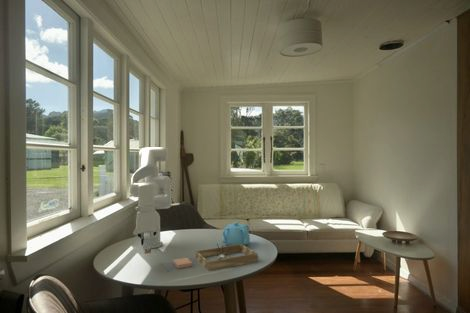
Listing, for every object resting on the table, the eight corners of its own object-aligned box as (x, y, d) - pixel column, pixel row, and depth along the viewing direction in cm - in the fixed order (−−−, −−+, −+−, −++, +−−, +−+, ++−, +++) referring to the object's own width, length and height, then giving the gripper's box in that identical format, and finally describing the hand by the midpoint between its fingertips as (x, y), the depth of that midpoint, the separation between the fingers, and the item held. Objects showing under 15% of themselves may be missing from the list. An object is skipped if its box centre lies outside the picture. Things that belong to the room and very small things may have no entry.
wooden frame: (195, 259, 151) (195, 251, 151) (241, 251, 163) (241, 243, 163) (208, 271, 135) (207, 262, 135) (257, 261, 146) (257, 253, 146)
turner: (142, 254, 141) (140, 241, 147) (152, 252, 143) (150, 239, 149) (144, 238, 135) (142, 225, 141) (155, 236, 137) (152, 224, 143)
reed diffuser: (213, 255, 140) (218, 238, 160) (209, 268, 141) (215, 250, 161) (233, 261, 140) (236, 243, 160) (230, 274, 141) (233, 255, 160)
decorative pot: (252, 242, 180) (252, 220, 180) (246, 250, 165) (245, 225, 165) (227, 240, 185) (227, 219, 185) (219, 248, 169) (218, 224, 170)
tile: (173, 259, 144) (177, 265, 137) (186, 257, 147) (191, 262, 140) (173, 263, 144) (177, 268, 137) (187, 261, 147) (191, 266, 140)
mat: (160, 264, 144) (160, 263, 144) (191, 259, 151) (191, 258, 151) (166, 273, 134) (166, 271, 134) (199, 266, 141) (199, 265, 141)
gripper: (129, 211, 137) (130, 250, 137) (164, 208, 144) (165, 245, 144) (128, 209, 144) (128, 246, 143) (161, 206, 151) (162, 242, 150)
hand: (147, 245), depth 143 cm, fingers closed on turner, 2 cm apart
